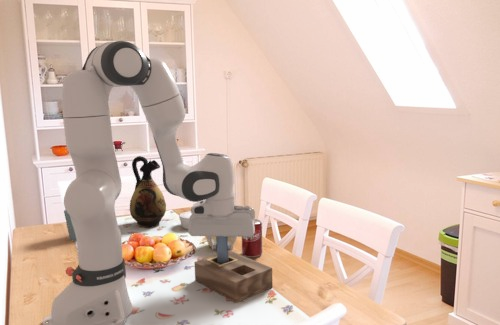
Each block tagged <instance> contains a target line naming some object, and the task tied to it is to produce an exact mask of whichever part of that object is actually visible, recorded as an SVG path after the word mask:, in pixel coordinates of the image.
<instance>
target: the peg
mask: <svg viewBox="0 0 500 325" xmlns="http://www.w3.org/2000/svg"><path fill="white" fill-rule="evenodd" d="M216 244H217V250H216V255H217V263H218V264H220V265H221V264H224V263H227V262H229V251H230V250H228V236H216Z"/></svg>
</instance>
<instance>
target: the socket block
mask: <svg viewBox="0 0 500 325" xmlns="http://www.w3.org/2000/svg"><path fill="white" fill-rule="evenodd" d="M194 280H195V282H198V283H199V284H201V285H203V286H204V287H206V288H208V289H211V290H212V291H214V292H215V293H218V294H219V295H221V296H222V297H224V298H226V299H229V300H230V301H232V302H234V303H239V302H242V301H243V300H246V299H247V298H251V297H253V296H256V295H257V294H260V293H262V292H264V291H265V292H266V291H267V290H269V289H271V288H273V268H272V267H270V266H268V265H265V264H263V263H261V262H258V261H256V260H254V259H251V258H250V257H246V256H244V255H243V254H240V253H237V252H235V251H233V250H229V262H227V263H224V264H221V265H220V264H218V263H217V254H214V255H212V256H209V257H206V258H203V259H200V260H197V261H194Z"/></svg>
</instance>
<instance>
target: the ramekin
mask: <svg viewBox="0 0 500 325" xmlns="http://www.w3.org/2000/svg"><path fill="white" fill-rule="evenodd" d="M191 215H192V213H191V210H188V211H184V212H181V213H180V214H179V220H180V224H181V227H182V228H183V229H186V230H188V224H189V218H190V216H191Z"/></svg>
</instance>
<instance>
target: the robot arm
mask: <svg viewBox="0 0 500 325" xmlns="http://www.w3.org/2000/svg"><path fill="white" fill-rule="evenodd" d="M117 87H130V88H131V89H132V90H133V91H134V93H135V94H136V95H137V98H138V101H139V104H140V106H141V110H142V112H143V115H144V116H145V119H146V121H147V124H148V125H149V128H150V131H151V133H152V137H153V140H154V143H155V146H156V148H157V149H156V150H157V152H158V155H159V158H160V162H161V165H162V184H163V187H164V189H165V190H166V191H167V192H168V193H169V194H171V195H172V196H177V197H179V198H182V199H184V200H186V201H188V202H193V203H194V204H193V205H192V206H191V208H190V211H191V213H192V215H191V216H190V218H189V224H188V229H187V230H188V234H189V235H190V237H205V236H207V237H208V241H209V242H210V244H211V245H212V247H211V250H213V251H217V244H216V243H215V242H214V241H213V239H212V238H213V236H229V237H231V240H232V242H231V243H228V250H229V251H233V250H234V245H233V243H234V241H235V239H236V237H237V238H238V237H241V238H242V237H251V236H252V235H253V234H254V232H255V227H254V219H256V218H255V217H256V212H255V209H254V208H253V207H250V206H249V205H244V206H243V205H236V198H235V197H236V196H235V192H234V184H235V176H234V175H235V174H234V166H233V162H232V159H231V157H230V156H228V155H227V154H222V153H216V152H215V153H214V152H209V153H206V154H205V155H204V157H203V158H202V159H201V160H200V161H198V162H197V163H195V164H194V165H189V164H188V163H187V162H186V161H185V160H184V157H183V156H182V152H181V148H180V146H179V142H178V138H177V130H178V128H179V127H180V126H181V125H182V124H183V122H184V120H185V118H186V111H185V110H186V109H185V104H184V101H183V98H182V95H181V92H180V89H179V87H178V85H177V81H176V80H175V78H174V75H172V72H171V71H170V68H169V67H168V64H166V62H165V61H164V60H161V59H159V58H155V57H153V58H152V57H150V58H149V57H148V56H147V55H145V53H144V52H143V51H142V50H141V49H140V48H139V47H138V46H137V45H135V44H134V43H132V42H129V41H125V40H116V41H109V42H108V41H107V42H104V43H102V44H101V45H97V46H96V47H94V48H93V49H92V50H90V52H89V54H88V55H87V58H86V60H85V62H84V64H83V66H82V68H81V69H79V70H74V71H72V72H70V73H68V74H66V76H65V77H64V79H63V81H62V90H61V91H62V92H61V108H62V109H61V110H62V119H63V129H64V137H65V146H66V150H67V152H68V153H69V155H70V157H71V158H70V159H71V161H72V163H73V167H74V171H75V179H73V180H72V181H71V182H70V184H69V185H68V187H67V188H66V190H65V193H64V197H63V204H64V210H65V209H66V211H67V213H68V214H69V215H70V218H71V222H72V225H73V228H74V231H75V235H76V241H75V242H76V247H77V248H76V249H77V258H78V264H77V267H76V268H73V267H72V266H69V267H67V268H66V269H65V274H66V275H68V276H69V277H72V278H71V279H72V280H71V282H70V283H69V284H68V285H67V286H66V287H65V288H64V289H63V290H61V292H59V294H58V295H56V297H54V299H53V302H52V305H51V313H50V314H49V315H48V316H45V317H44V319H43V321H42V325H124V324H125V323H126V319H127V318H128V317H129V316H130V314H131V313H132V312H133V309H134V307H133V304H132V301H131V299H130V295H129V291H128V288H127V283H126V277H127V270H126V269H127V268H126V262H125V258H123V257H124V256H123V246H122V244H123V242H122V231H121V229H120V227H119V223H118V220H117V216H116V211H115V210H116V208H115V204H116V201H117V199H118V198H119V196H120V194H121V191H122V179H121V176H120V175H121V174H120V169H119V165H118V160H117V156H116V153H115V152H116V151H115V148H114V142H113V133H112V123H111V122H112V121H111V112H110V106H109V97H110V93H111V91H112V89H113V88H117ZM236 240H237V239H236ZM46 322H48V323H46Z"/></svg>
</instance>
